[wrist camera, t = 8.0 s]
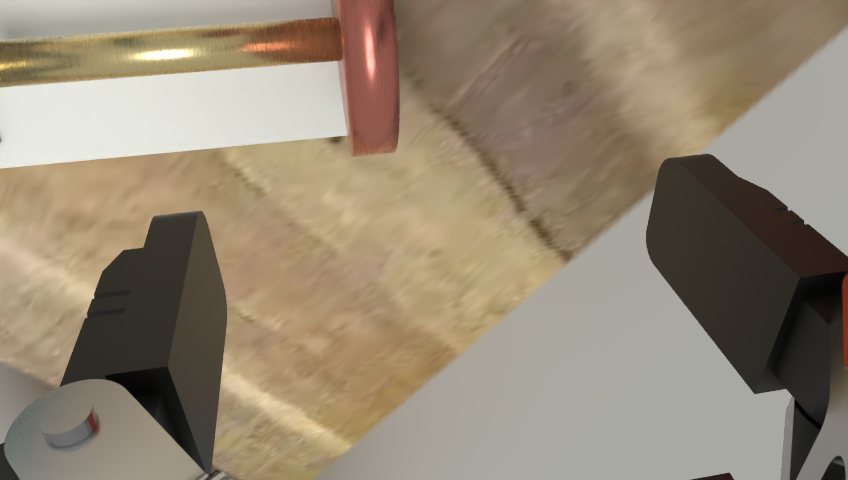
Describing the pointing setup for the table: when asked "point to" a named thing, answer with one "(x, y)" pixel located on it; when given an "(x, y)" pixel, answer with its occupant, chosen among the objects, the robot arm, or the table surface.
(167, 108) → the base board
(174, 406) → the robot arm
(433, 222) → the table surface
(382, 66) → the copper disc with handle
